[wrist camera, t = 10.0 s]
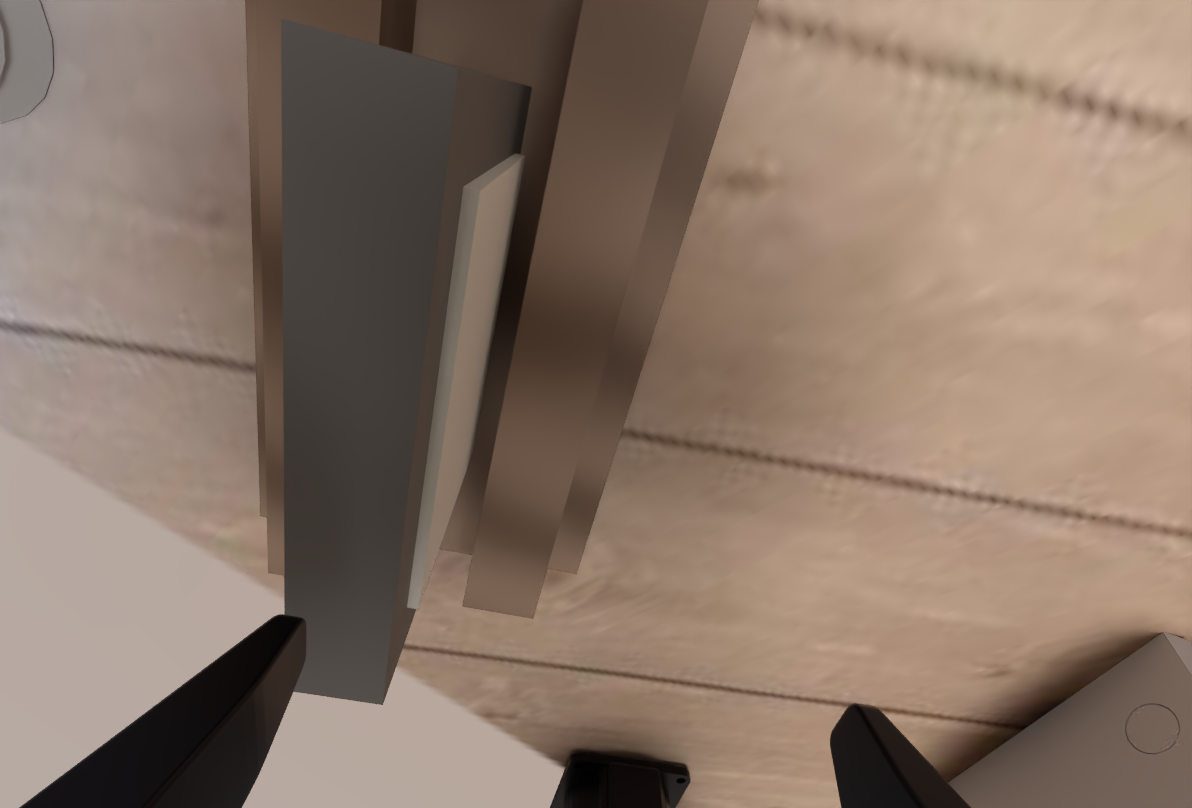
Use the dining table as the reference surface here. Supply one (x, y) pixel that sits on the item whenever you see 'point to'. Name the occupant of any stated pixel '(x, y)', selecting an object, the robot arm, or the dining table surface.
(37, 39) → the chalice
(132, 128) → the dining table surface
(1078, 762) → the grey two-tone curved device
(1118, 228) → the dining table surface
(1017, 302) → the dining table surface
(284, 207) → the picture frame
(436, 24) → the walnut ledge
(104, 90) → the dining table surface
